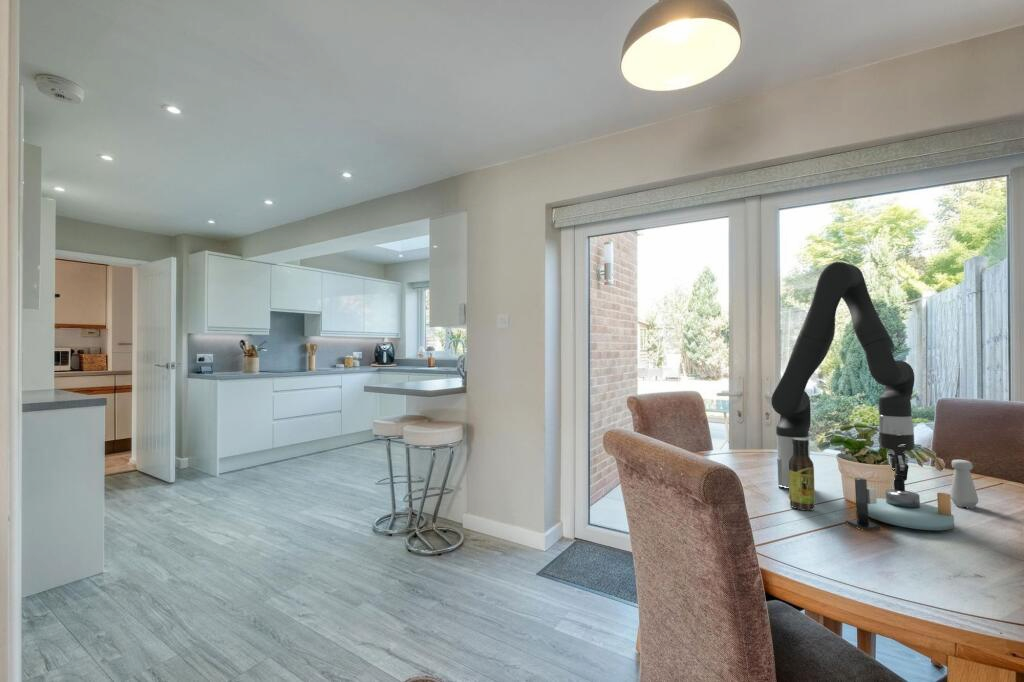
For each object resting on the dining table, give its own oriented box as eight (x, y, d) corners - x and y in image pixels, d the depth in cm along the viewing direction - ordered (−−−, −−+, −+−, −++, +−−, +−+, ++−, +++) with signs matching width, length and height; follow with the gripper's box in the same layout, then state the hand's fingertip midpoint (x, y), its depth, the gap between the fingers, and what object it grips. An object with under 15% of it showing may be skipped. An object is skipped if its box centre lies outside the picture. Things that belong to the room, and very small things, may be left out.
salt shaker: (966, 503, 131) (963, 458, 131) (985, 509, 125) (982, 462, 126) (944, 502, 132) (942, 458, 132) (962, 509, 126) (959, 462, 126)
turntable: (867, 522, 116) (866, 494, 116) (859, 501, 131) (858, 477, 131) (964, 535, 106) (962, 505, 106) (943, 512, 121) (941, 485, 121)
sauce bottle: (805, 512, 127) (802, 441, 127) (784, 506, 132) (781, 438, 133) (820, 509, 129) (817, 439, 130) (799, 503, 135) (796, 436, 135)
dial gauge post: (863, 530, 113) (861, 482, 114) (845, 523, 118) (843, 477, 119) (885, 528, 114) (882, 480, 115) (866, 521, 119) (864, 475, 120)
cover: (888, 506, 121) (887, 493, 121) (883, 498, 127) (883, 486, 127) (922, 510, 117) (922, 497, 118) (916, 502, 123) (916, 490, 124)
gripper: (875, 427, 135) (878, 485, 134) (883, 434, 124) (886, 498, 123) (908, 428, 131) (911, 488, 130) (919, 436, 120) (923, 502, 119)
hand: (899, 493), depth 127 cm, fingers closed
